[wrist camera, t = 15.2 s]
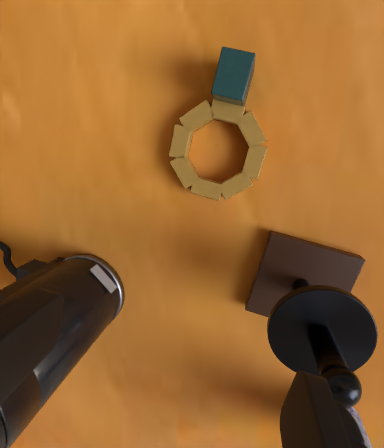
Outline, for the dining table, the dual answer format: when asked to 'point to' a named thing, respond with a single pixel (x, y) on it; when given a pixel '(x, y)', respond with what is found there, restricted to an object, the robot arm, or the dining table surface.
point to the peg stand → (314, 311)
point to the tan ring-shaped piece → (227, 112)
